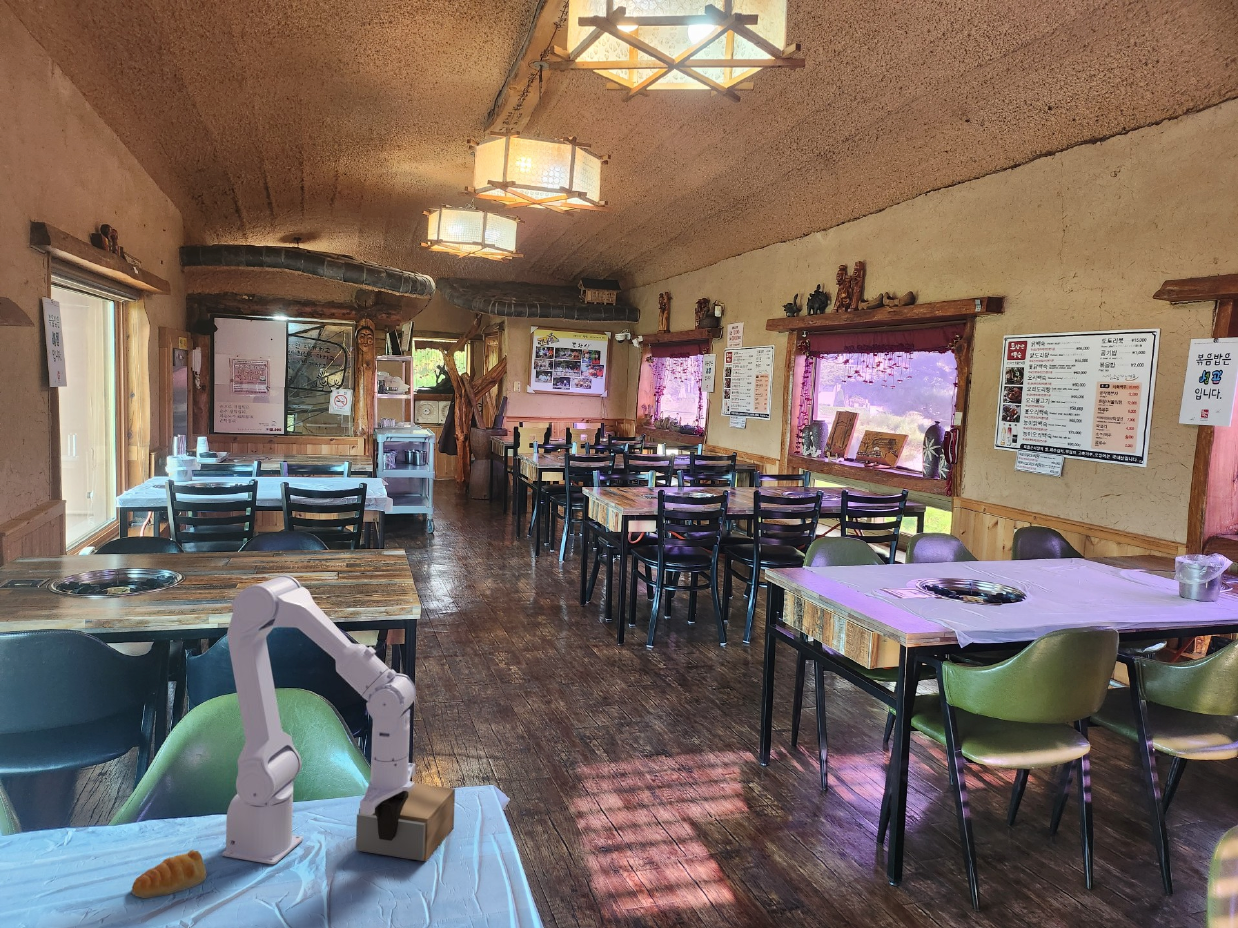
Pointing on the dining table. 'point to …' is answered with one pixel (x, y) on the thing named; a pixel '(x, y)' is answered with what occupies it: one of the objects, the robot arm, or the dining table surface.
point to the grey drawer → (402, 845)
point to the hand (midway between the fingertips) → (387, 837)
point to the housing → (430, 813)
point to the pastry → (171, 876)
